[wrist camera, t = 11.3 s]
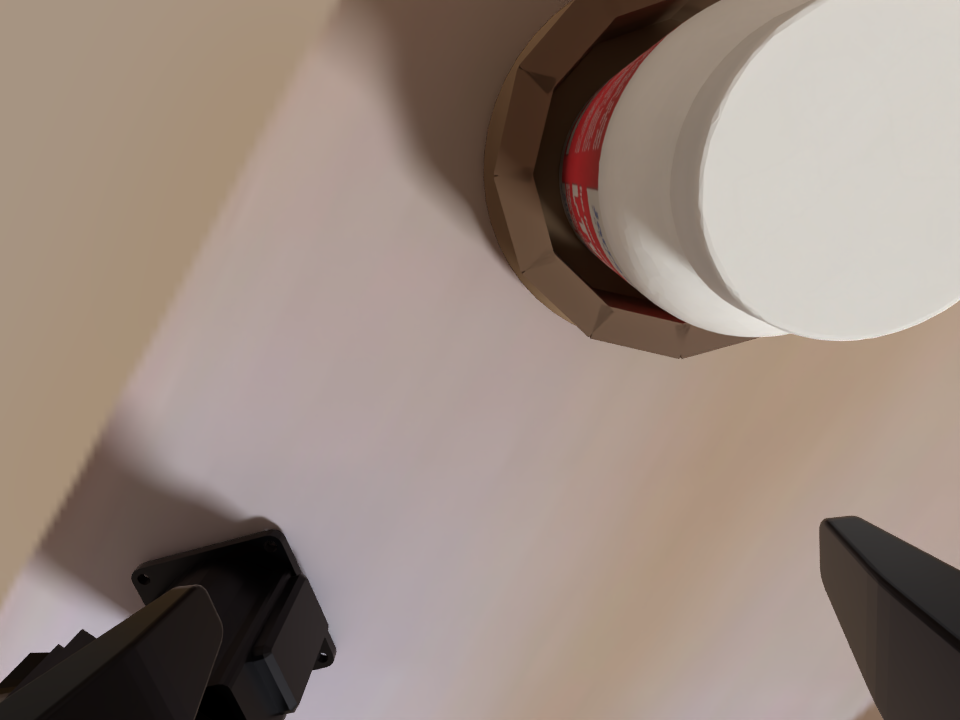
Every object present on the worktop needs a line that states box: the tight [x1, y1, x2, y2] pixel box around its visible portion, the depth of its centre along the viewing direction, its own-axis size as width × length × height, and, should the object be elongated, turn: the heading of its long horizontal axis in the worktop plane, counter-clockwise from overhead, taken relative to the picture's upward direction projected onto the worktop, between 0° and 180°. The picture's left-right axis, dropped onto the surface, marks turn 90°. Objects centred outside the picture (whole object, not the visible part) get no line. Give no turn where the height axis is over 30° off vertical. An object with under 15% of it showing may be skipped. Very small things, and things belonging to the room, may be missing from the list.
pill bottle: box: [559, 0, 960, 341], centre depth 13 cm, size 6×6×11 cm
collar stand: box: [484, 0, 759, 359], centre depth 17 cm, size 11×11×4 cm
